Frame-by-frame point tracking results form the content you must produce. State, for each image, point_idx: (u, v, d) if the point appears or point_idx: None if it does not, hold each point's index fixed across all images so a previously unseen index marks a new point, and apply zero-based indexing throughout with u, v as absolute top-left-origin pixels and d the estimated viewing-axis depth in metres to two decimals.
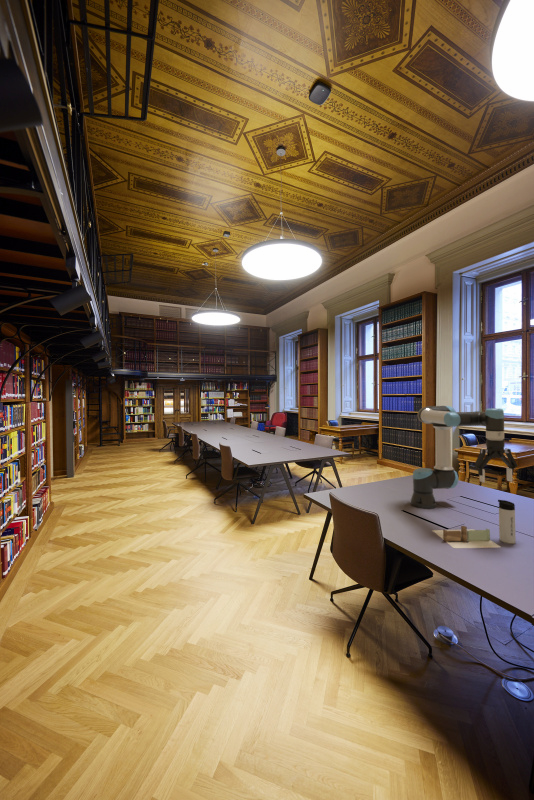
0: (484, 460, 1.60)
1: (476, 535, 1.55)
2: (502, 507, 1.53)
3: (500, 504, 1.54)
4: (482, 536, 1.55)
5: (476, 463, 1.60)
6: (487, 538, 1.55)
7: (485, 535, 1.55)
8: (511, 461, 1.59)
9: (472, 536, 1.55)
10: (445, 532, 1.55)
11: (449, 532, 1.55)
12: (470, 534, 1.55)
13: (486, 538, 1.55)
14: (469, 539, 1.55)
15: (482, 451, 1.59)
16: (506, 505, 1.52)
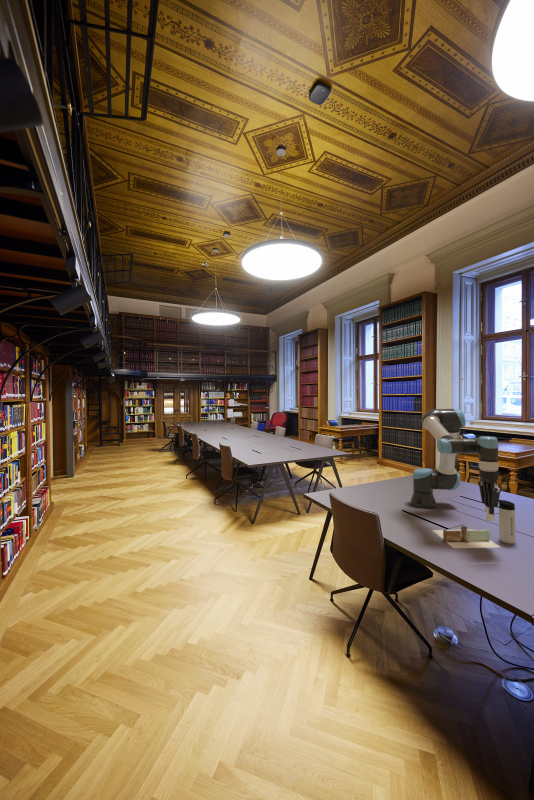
0: None
1: (476, 535, 1.55)
2: (502, 507, 1.53)
3: (500, 504, 1.54)
4: (482, 536, 1.55)
5: (495, 503, 1.45)
6: (487, 538, 1.55)
7: (485, 535, 1.55)
8: None
9: (472, 536, 1.55)
10: (445, 532, 1.55)
11: (449, 532, 1.55)
12: (470, 534, 1.55)
13: (486, 538, 1.55)
14: (469, 539, 1.55)
15: (499, 491, 1.43)
16: (506, 505, 1.52)
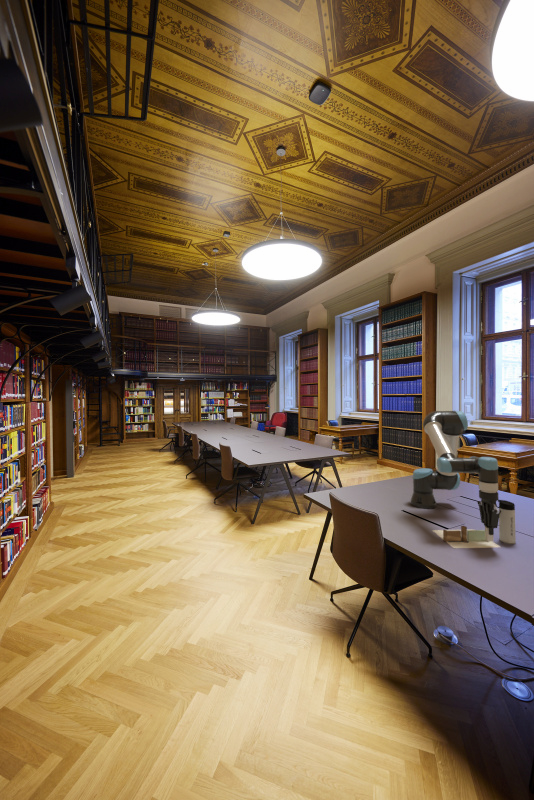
0: (491, 518, 1.48)
1: (476, 535, 1.55)
2: (502, 507, 1.53)
3: (500, 504, 1.54)
4: (482, 536, 1.55)
5: (494, 525, 1.46)
6: None
7: None
8: None
9: (472, 536, 1.55)
10: (445, 532, 1.55)
11: (449, 532, 1.55)
12: (470, 534, 1.55)
13: None
14: (469, 539, 1.55)
15: (499, 512, 1.44)
16: (506, 505, 1.52)
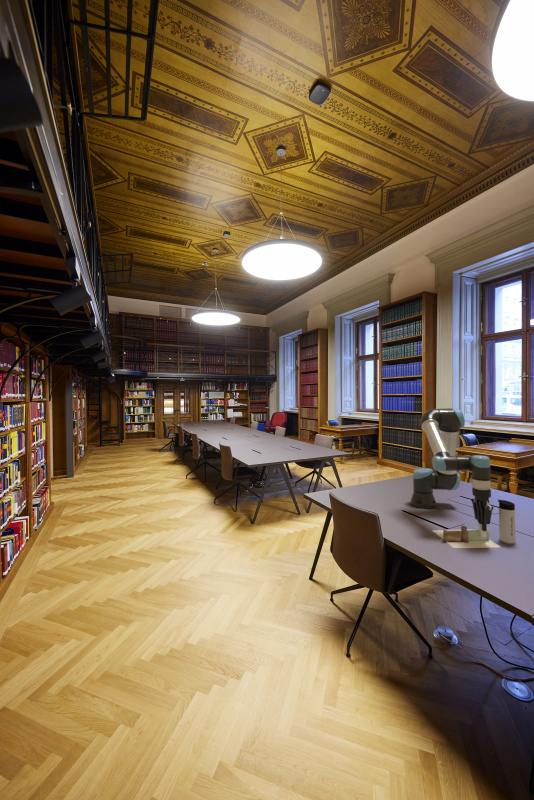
0: None
1: (476, 535, 1.55)
2: (502, 507, 1.53)
3: (500, 504, 1.54)
4: None
5: (487, 521, 1.51)
6: (487, 537, 1.55)
7: None
8: None
9: (472, 536, 1.55)
10: (445, 532, 1.55)
11: (449, 532, 1.55)
12: (470, 534, 1.55)
13: (486, 538, 1.55)
14: (469, 539, 1.55)
15: (491, 509, 1.49)
16: (506, 505, 1.52)
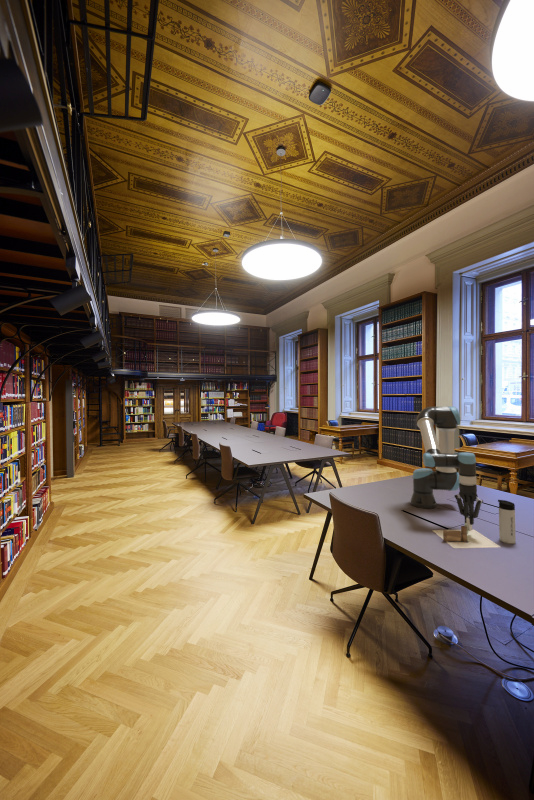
0: (472, 508, 1.60)
1: None
2: (502, 507, 1.53)
3: (500, 504, 1.54)
4: None
5: (477, 514, 1.58)
6: None
7: None
8: (462, 507, 1.64)
9: None
10: (445, 532, 1.55)
11: (449, 532, 1.55)
12: None
13: (467, 531, 1.63)
14: None
15: (481, 502, 1.57)
16: (506, 505, 1.52)
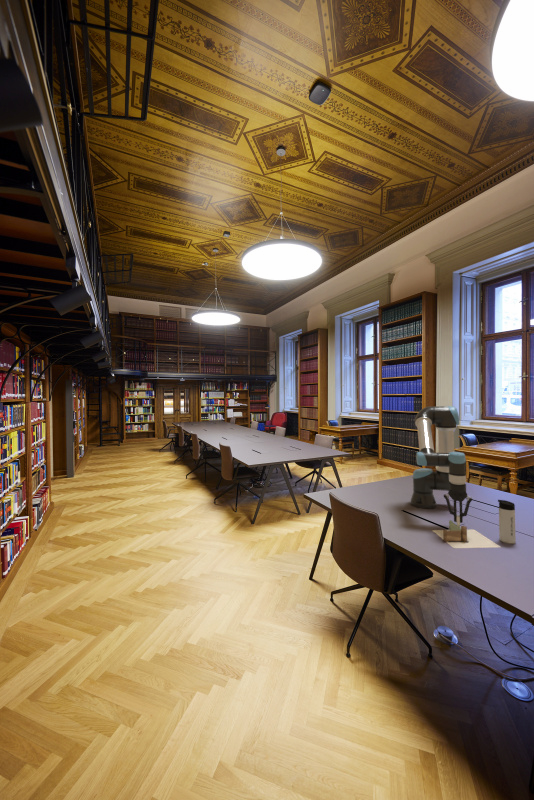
0: None
1: None
2: (502, 507, 1.53)
3: (500, 504, 1.54)
4: None
5: None
6: None
7: None
8: (450, 506, 1.66)
9: None
10: (445, 532, 1.55)
11: (449, 532, 1.55)
12: None
13: None
14: None
15: None
16: (506, 505, 1.52)
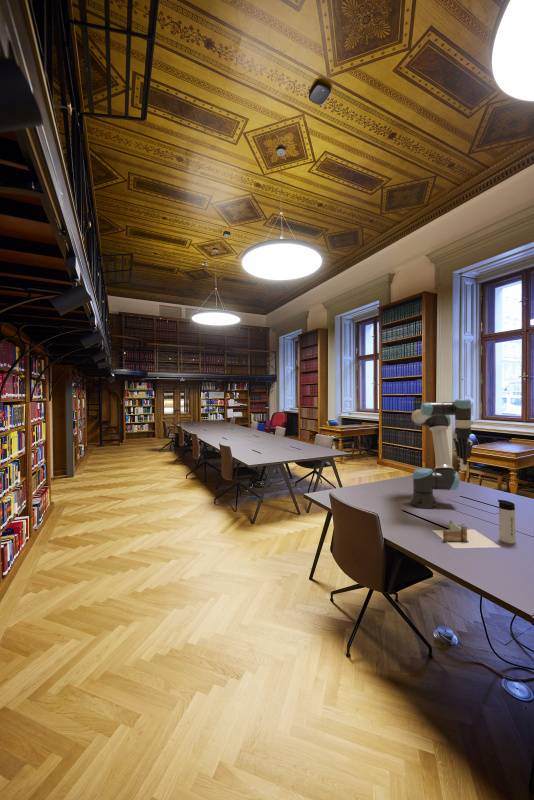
0: (465, 450, 1.73)
1: None
2: (502, 507, 1.53)
3: (500, 504, 1.54)
4: None
5: (468, 455, 1.71)
6: None
7: None
8: None
9: None
10: (445, 532, 1.55)
11: (449, 532, 1.55)
12: None
13: None
14: None
15: (472, 444, 1.69)
16: (506, 505, 1.52)
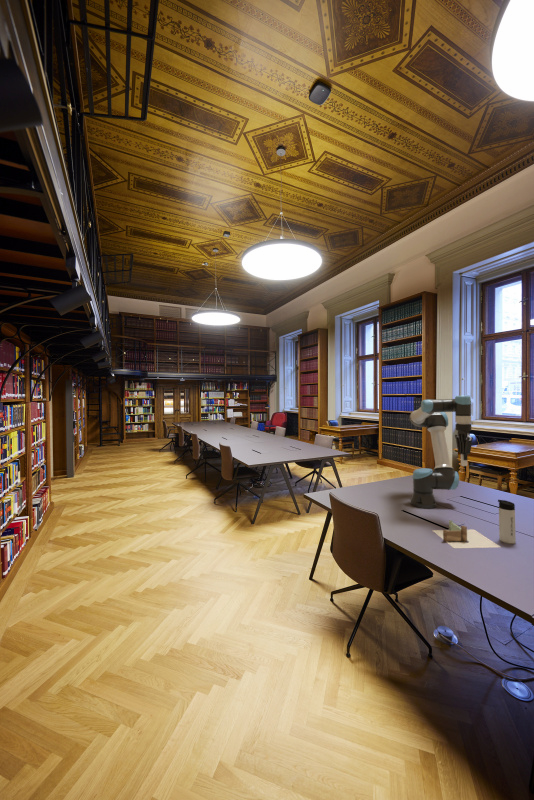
0: None
1: None
2: (502, 507, 1.53)
3: (500, 504, 1.54)
4: None
5: (468, 450, 1.73)
6: None
7: None
8: None
9: None
10: (445, 532, 1.55)
11: (449, 532, 1.55)
12: None
13: None
14: None
15: (471, 439, 1.71)
16: (506, 505, 1.52)
